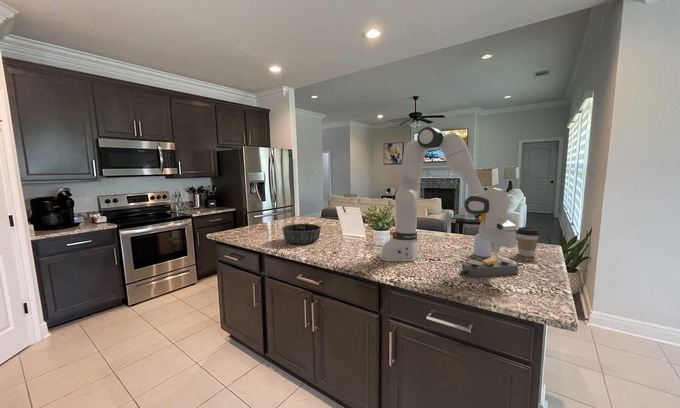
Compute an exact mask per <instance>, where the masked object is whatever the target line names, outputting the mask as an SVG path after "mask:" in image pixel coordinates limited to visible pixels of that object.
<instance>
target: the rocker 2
mask: <svg viewBox="0 0 680 408" xmlns="http://www.w3.org/2000/svg"><path fill="white" fill-rule="evenodd" d="M497 261H498V260H497V259H496V258H494V257H490V258H489V257H488V258H487V259H483V260H482V262H483V263H484V264H486V265H490V264H493V263H496V262H497Z"/></svg>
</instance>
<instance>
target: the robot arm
mask: <svg viewBox="0 0 680 408" xmlns="http://www.w3.org/2000/svg"><path fill="white" fill-rule="evenodd" d="M437 151H442V153H443V156H444V158H445V161H446V163H447V165H448V167H449V169H450V170H451V171H452V172H453V173H455V174H457V175H459V176H460V177H461V178H462V179H463V180H464V181H465V183H466V185H467V187H468V189H469V191H470V194H471V195H470V196H468V197H467V198H466V199H465V200H464V204H463V206H464V207H463V208H464V209H465V211H466V212H467V213H468V214H470V215H473V216H479V215H481V214H486V221H485V220H483V221H482V222H481V225H479V228H478V233H477V234H478V236H479V238H480V239H483V240H486V241H489V242H490V246H491V251H492V253H494V254H499V253H500V249H501V248H502V247H504V248H506V249H507V248H508V249H513V248H515V247H516V246H517V233H516V230H518V229H517V225H516V224H515V223H513V222H512V221H510V220H509V217H508V210H509V194H508V191H507V190H505V189H503V188H500V187H499V188H498V187H489V188H488V189H485V188H484V185H483V183H482V181H481V179H480V177H479V174H478V172H477V170H476V168H475V165H474V162H473V158H472V155H471V153H470V149H469V148H468V146H467V144H466V142H465V140H464V139H463V137H462V135H461V134H460V133H458V132H450V133H448V134H447V133H446V134H445V133H444V132H443V131H442V130H441V129H439V128H437V127H436V128H435V127H433V126H426V127H423V128H421V129H420V130H419V131H418V134H417V138H416V139H415V140H410V141H408V142H407V144H406V147H405V149H404V152H403V157H402V160H401V161H402V162H401V166H400V167H401V169H400V174H399V176H400V177H399V186H398V190H397V192H396V193H395V197H394V199H395V216H396V217H395V219H396V220H395V231H392V230H390V232H389V235H391V236H392V237H391V238H390V239H389V240H388V241H387V242H385V243H383V245H382V248H381V251H380V252H378V253H377V257H378V258H379V259H381V260H382V261H385V262H415V261H416V260H417V259H419V253H418V252H419V251H418V246H417V245H418V243H417V241H418V231H417V226H418V225H417V223H418V216H417V210H418V209H417V205H418V204H417V201H418V198H419V194H420V193H419V192H420V186H421V178H422V173H423V167H424V163H425V156H426V154H427V153H431V152H437Z"/></svg>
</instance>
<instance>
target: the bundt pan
mask: <svg viewBox="0 0 680 408" xmlns="http://www.w3.org/2000/svg"><path fill="white" fill-rule="evenodd" d="M281 230H282V234H283V238H284V240H285V241H286V242H287V243H289V244H293V245H294V244H296V245H305V244H306V245H309V244H310V243H315V242H317V241H318V240H319V239H320V234H321V230H322V226H321V225H319V224H315V223H293V224H288V225H284V226H282V228H281Z"/></svg>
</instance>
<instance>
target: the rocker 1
mask: <svg viewBox="0 0 680 408" xmlns="http://www.w3.org/2000/svg"><path fill="white" fill-rule="evenodd" d="M467 262H468V263H472V264H476V265H482V264H483V263H482V262H483V261H482V262H481V261H479V260H475V259H468V261H467Z"/></svg>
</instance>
